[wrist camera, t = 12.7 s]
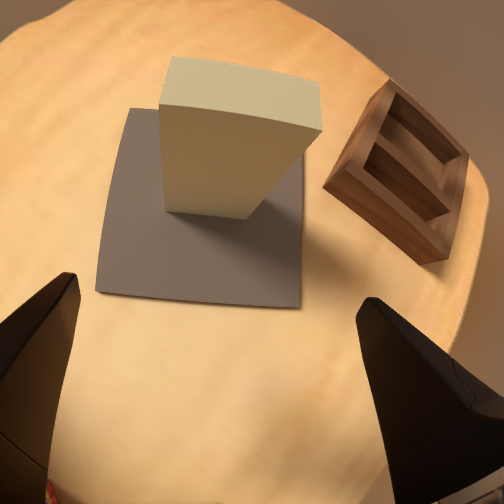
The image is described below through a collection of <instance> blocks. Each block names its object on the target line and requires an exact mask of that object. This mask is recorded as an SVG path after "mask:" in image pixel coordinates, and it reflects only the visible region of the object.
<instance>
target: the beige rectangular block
mask: <svg viewBox="0 0 504 504" xmlns="http://www.w3.org/2000/svg"><path fill="white" fill-rule="evenodd" d="M159 125H160V146H161V163H162V177H163V190H164V201H165V211H167V212H177V213H187V214H197V215H207V216H216V217H225V218H234V219H243V220H246V219H247V218H248V217H249V216H250V215H251V214H252V212H253V211H254V210H255V209H256V208H257V206H258V205H259V204H260V203H261V202H262V200H263V199H264V198H265V197H266V196H267V195H268V193H269V192H270V191H271V190H272V189H273V187H274V186H275V185H276V184H277V183H278V182H279V180H280V179H281V178H282V177H283V176H284V175H285V173H286V172H287V171H288V170H289V169H290V168H291V166H292V165H293V164H294V163H295V162H296V161H297V160H298V158H299V157H300V156H301V155H302V154H303V153H304V151H305V150H306V149H307V148H308V147H309V146H310V145H311V143H312V142H313V141H314V140H315V139H316V138H317V137H318V135H319V134H320V133H321V132H322V131H323V128H322V113H321V100H320V88H319V83H318V82H315V81H311V80H307V79H304V78H300V77H296V76H292V75H288V74H283V73H279V72H275V71H270V70H265V69H260V68H255V67H250V66H245V65H239V64H233V63H227V62H220V61H213V60H205V59H197V58H187V57H177V56H172V59H171V62H170V65H169V69H168V72H167V75H166V79H165V83H164V86H163V90H162V94H161V97H160V101H159Z"/></svg>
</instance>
